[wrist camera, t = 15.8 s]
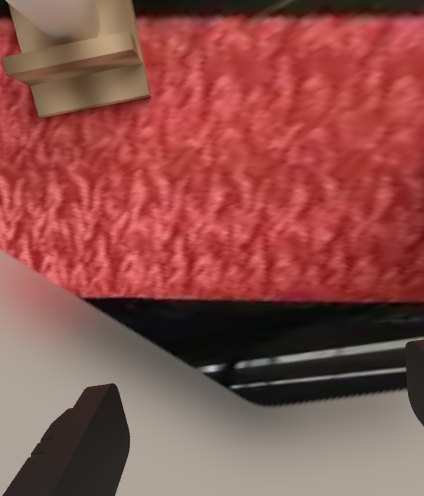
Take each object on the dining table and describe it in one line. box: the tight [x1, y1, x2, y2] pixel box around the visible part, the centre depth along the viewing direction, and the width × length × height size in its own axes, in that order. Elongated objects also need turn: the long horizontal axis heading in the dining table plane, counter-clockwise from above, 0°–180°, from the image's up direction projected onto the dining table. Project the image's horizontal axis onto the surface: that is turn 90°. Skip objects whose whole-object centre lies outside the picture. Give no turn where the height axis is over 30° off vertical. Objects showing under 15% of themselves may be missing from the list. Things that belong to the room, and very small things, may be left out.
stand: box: [2, 0, 151, 118], centre depth 32 cm, size 12×16×5 cm
